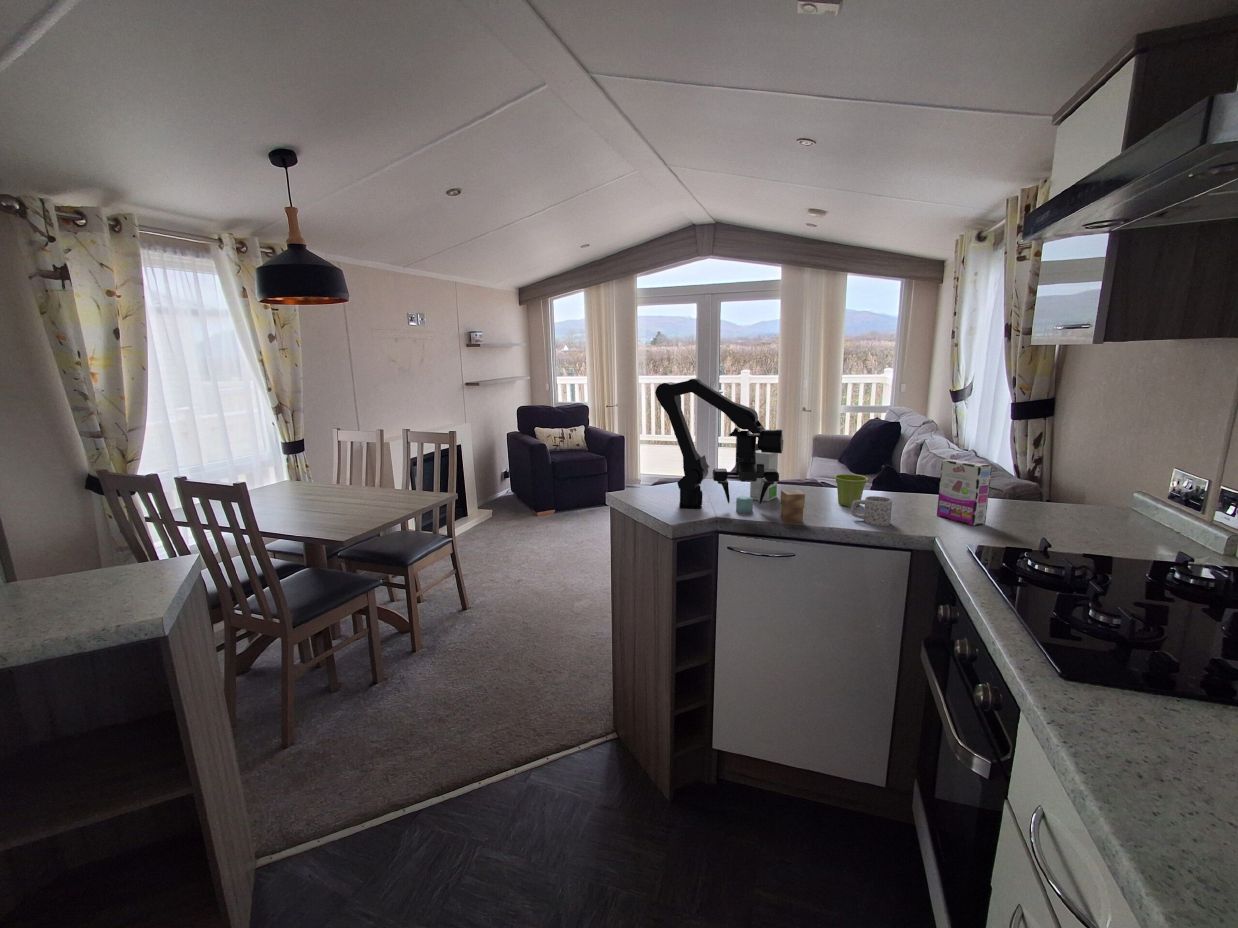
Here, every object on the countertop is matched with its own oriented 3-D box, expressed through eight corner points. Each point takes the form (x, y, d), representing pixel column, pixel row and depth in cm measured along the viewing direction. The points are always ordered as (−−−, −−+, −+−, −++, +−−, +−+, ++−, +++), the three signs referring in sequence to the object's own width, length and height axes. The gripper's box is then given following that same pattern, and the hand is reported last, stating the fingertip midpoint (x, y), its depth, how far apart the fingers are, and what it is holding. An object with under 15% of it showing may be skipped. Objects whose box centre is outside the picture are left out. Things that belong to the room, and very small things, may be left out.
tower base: (784, 522, 148) (784, 508, 147) (780, 517, 152) (781, 503, 152) (802, 522, 147) (803, 508, 146) (798, 517, 152) (799, 503, 151)
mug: (891, 521, 147) (893, 497, 145) (889, 527, 141) (891, 503, 140) (852, 516, 152) (853, 493, 151) (848, 522, 146) (850, 499, 145)
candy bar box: (986, 524, 142) (993, 464, 139) (973, 526, 141) (980, 466, 138) (948, 513, 153) (953, 457, 150) (935, 515, 151) (941, 459, 148)
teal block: (737, 513, 157) (737, 500, 156) (735, 508, 161) (735, 496, 161) (753, 513, 156) (754, 500, 155) (751, 509, 161) (751, 496, 160)
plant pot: (859, 500, 168) (861, 474, 167) (870, 508, 159) (872, 480, 157) (829, 500, 169) (830, 474, 167) (838, 508, 160) (839, 480, 158)
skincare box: (767, 502, 168) (769, 453, 165) (748, 499, 172) (749, 452, 169) (777, 496, 175) (779, 450, 172) (758, 494, 179) (760, 448, 176)
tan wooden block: (786, 508, 146) (787, 494, 146) (780, 503, 151) (781, 490, 151) (804, 508, 147) (805, 494, 146) (797, 503, 151) (798, 489, 151)
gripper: (715, 456, 148) (714, 510, 151) (784, 456, 146) (781, 511, 149) (712, 449, 159) (711, 500, 162) (776, 450, 157) (774, 500, 160)
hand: (744, 503), depth 158 cm, fingers open, 9 cm apart
